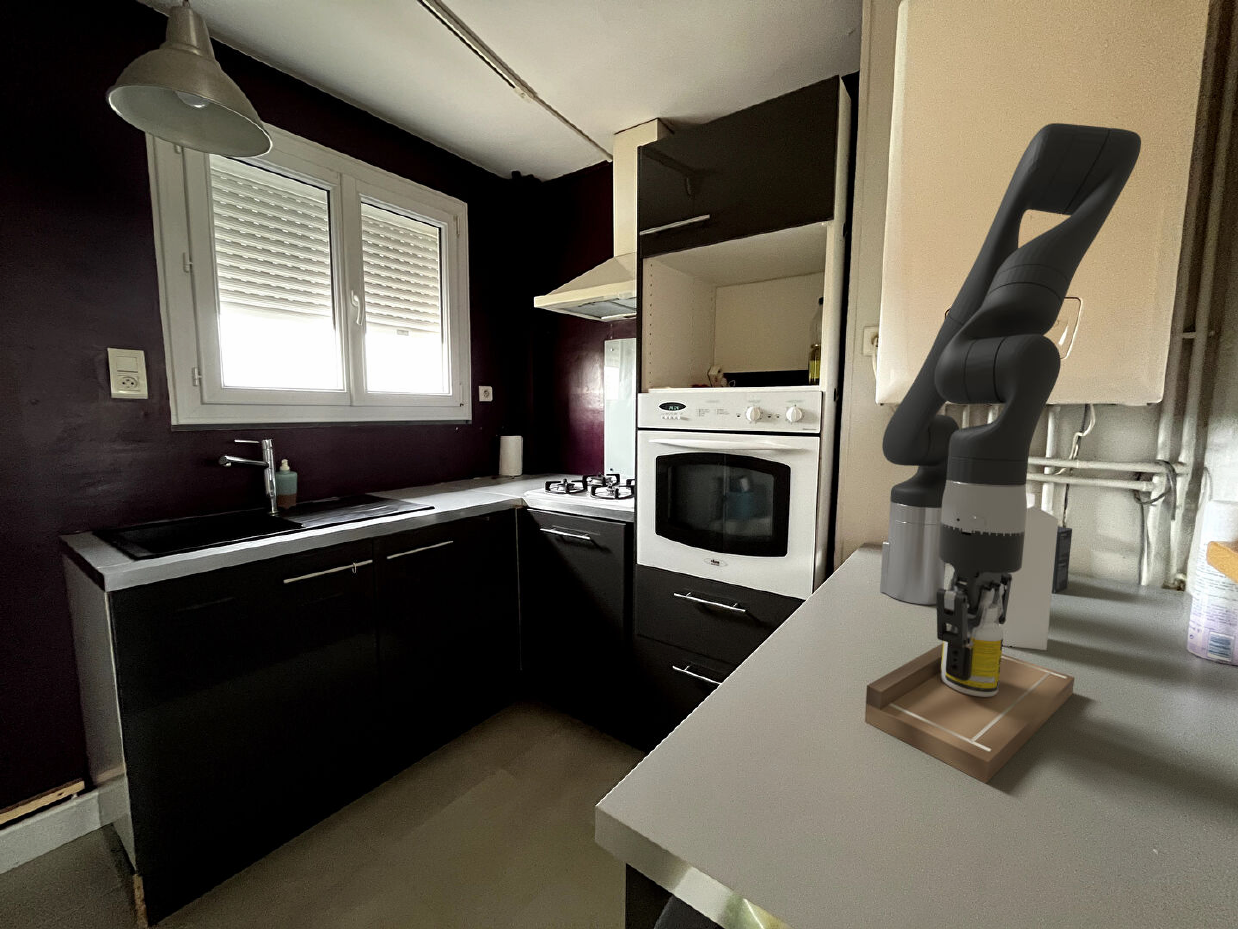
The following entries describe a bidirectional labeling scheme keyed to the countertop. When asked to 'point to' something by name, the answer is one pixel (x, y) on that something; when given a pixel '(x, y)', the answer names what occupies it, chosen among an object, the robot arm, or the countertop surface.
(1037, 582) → the milk
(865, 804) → the countertop surface
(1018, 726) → the board
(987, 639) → the supplement bottle
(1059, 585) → the small box
